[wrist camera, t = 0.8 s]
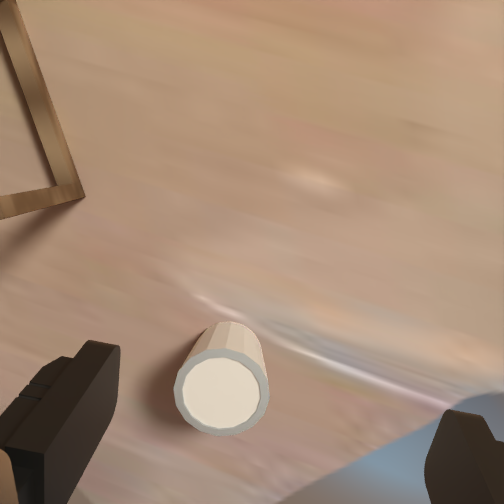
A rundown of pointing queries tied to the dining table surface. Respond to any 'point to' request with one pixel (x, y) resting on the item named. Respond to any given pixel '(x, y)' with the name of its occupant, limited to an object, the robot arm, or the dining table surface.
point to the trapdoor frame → (37, 122)
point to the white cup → (223, 381)
